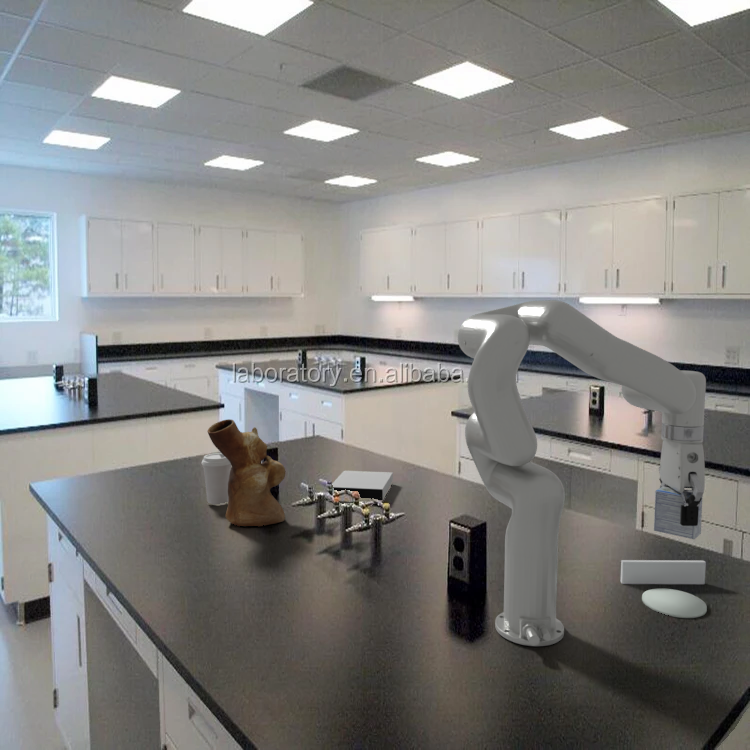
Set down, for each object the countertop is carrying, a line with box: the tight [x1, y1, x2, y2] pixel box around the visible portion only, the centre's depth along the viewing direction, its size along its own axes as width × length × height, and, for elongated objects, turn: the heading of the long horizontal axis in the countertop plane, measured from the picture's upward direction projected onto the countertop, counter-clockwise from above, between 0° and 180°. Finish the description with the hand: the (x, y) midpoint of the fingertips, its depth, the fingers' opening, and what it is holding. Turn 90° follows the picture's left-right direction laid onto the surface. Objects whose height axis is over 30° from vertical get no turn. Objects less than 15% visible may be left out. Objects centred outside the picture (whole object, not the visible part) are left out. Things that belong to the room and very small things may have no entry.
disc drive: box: [331, 470, 394, 500], centre depth 210 cm, size 18×22×5 cm
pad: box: [641, 587, 708, 619], centre depth 130 cm, size 12×12×1 cm
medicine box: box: [653, 486, 704, 540], centre depth 128 cm, size 8×4×9 cm, turn 48°
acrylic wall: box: [620, 559, 707, 585], centre depth 140 cm, size 1×18×5 cm, turn 89°
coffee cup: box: [200, 452, 232, 504], centre depth 198 cm, size 10×10×15 cm
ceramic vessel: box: [207, 419, 286, 527], centre depth 179 cm, size 16×22×30 cm
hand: (678, 517), depth 128 cm, fingers closed on medicine box, 8 cm apart
